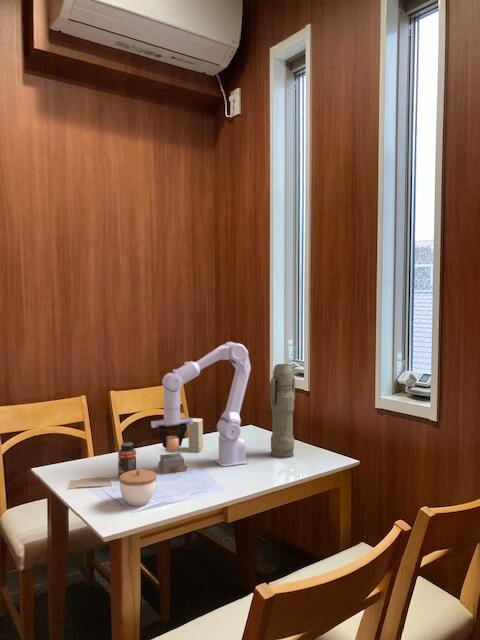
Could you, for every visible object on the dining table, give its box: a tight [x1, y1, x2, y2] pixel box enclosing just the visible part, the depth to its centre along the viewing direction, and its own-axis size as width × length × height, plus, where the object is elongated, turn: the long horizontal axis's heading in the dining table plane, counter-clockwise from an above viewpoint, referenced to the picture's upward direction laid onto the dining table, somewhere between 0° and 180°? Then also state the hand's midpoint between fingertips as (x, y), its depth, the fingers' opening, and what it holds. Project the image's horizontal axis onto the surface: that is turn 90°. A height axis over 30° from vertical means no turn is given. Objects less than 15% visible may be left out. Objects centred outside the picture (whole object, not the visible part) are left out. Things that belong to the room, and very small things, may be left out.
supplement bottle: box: [117, 442, 137, 478], centre depth 166 cm, size 6×6×11 cm
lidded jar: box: [118, 468, 157, 506], centre depth 146 cm, size 11×11×9 cm
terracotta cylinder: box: [164, 435, 180, 453], centre depth 174 cm, size 5×5×4 cm
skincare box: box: [187, 417, 204, 453], centre depth 198 cm, size 6×4×12 cm
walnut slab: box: [158, 461, 188, 475], centre depth 175 cm, size 8×8×2 cm
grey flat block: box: [159, 452, 185, 468], centre depth 174 cm, size 7×7×2 cm
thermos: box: [269, 363, 296, 459], centre depth 192 cm, size 9×12×35 cm
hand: (172, 446), depth 174 cm, fingers closed on terracotta cylinder, 5 cm apart
